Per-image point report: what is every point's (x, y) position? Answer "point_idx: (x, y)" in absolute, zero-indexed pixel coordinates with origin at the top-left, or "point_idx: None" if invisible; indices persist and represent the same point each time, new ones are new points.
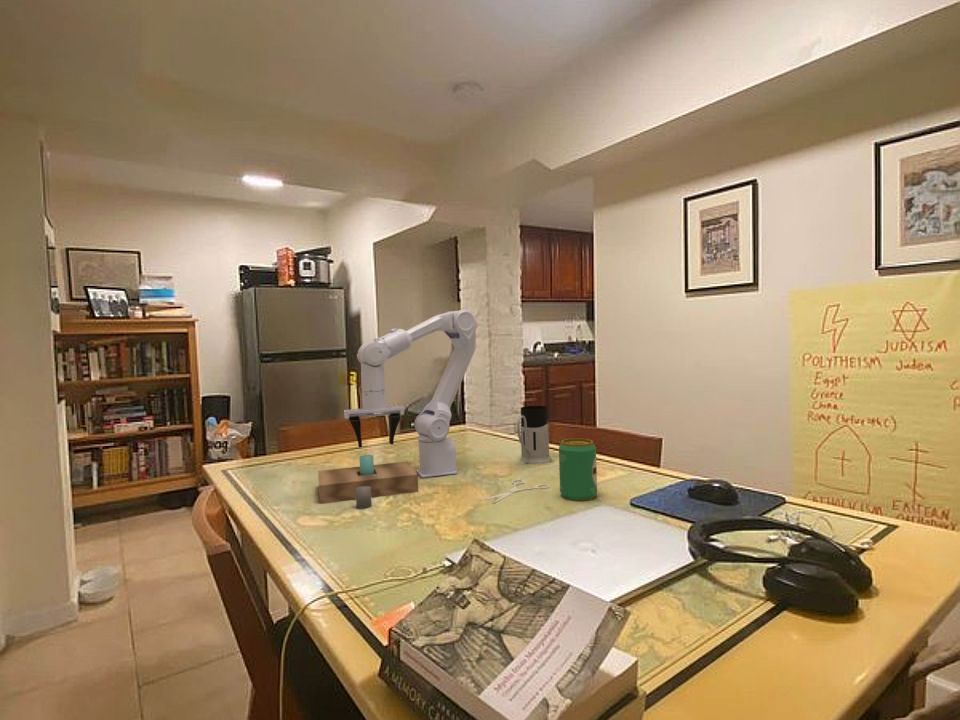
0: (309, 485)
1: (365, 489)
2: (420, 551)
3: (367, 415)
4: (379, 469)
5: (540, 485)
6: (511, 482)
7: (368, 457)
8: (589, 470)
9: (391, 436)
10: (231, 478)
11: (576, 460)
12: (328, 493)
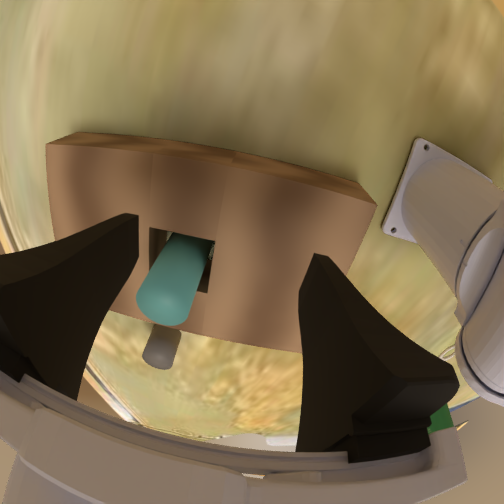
0: (61, 101)
1: (160, 368)
2: (206, 427)
3: (98, 430)
4: (230, 251)
5: None
6: (444, 351)
7: (167, 324)
8: None
9: (304, 335)
10: None
11: None
12: None
